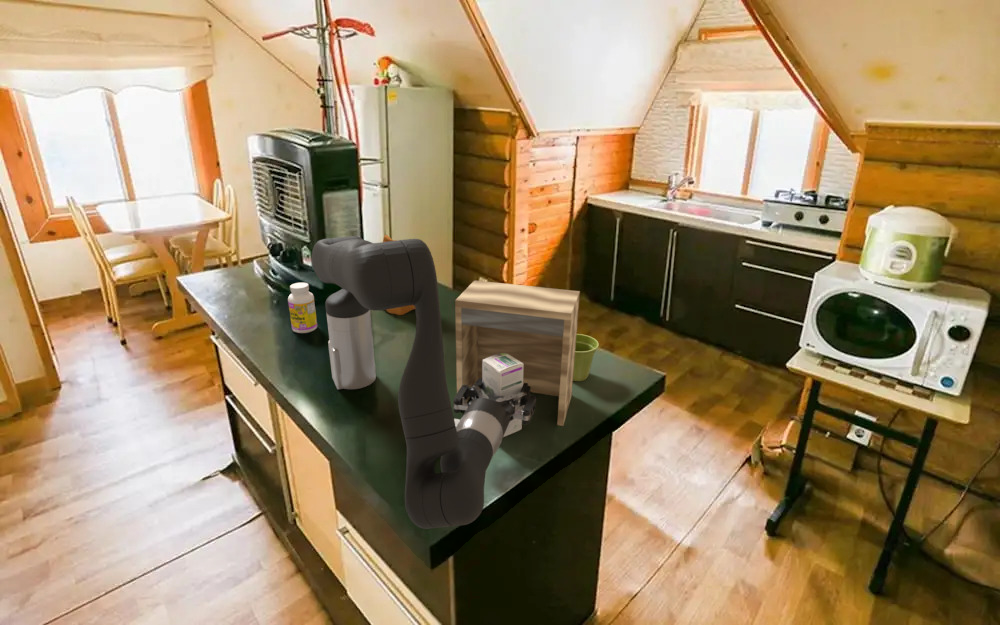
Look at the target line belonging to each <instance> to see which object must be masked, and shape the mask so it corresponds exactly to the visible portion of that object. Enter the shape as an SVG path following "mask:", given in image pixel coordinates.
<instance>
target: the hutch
mask: <svg viewBox="0 0 1000 625" xmlns="http://www.w3.org/2000/svg"><path fill="white" fill-rule="evenodd" d="M580 294H581V291H580V290H569V289H559V288H551V287H543V286H542V287H541V286H531V285H523V284H514V283H513V284H512V283H503V282H502V283H501V282H495V281H492V282H491V281H484V280H483V281H482V280H473V281H472V282H471V283H470V284H469V285H468V287H466V289H464V291H462V293H461V294H459V296H458V297H457V298H456V299H454V301H455V302H454V303H455V304H454V306H455V310H454V311H455V351H456V352H455V353H456V354H455V358H456V365H455V366H456V368H455V369H456V370H455V371H456V394H457V393H458V391H459V389H460V388H461V386H462V385H467V386H468V387H472V385H474V384H475V383H476V381H477V380H478V379H481V378H482V361H483V359H486V358H488V357H491V356H494V355H497V354H501V353H507V354H509V355H510V356H512V357H514V358H515V359H517V360H518V361H520V362H522V363H523V364H524V367H523V384H524V383H528V386H530V387H531V389H530V393H535V394H541V395H547V396H554V397H558V409H557V411H558V412H557V421H556V422H557V424H556V425H557V426H561V427H564V425H565V421H566V418H567V414H568V411H569V410H568V409H569V407H570V403H571V399H572V396H573V386H574V385H573V384H574V381H573V373H574V360H575V347H576V334H578V333H577V332H578V321H579V320H578V319H579V308H580V306H579V305H580V296H581V295H580ZM470 398H471V397H468V399H467V401H466V403H469V400H470Z"/></svg>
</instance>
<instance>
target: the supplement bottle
mask: <svg viewBox="0 0 1000 625" xmlns="http://www.w3.org/2000/svg"><path fill="white" fill-rule="evenodd" d="M289 290H290V292H291V293H290V294H289V296H288V298H287V303H288V304H287V305H288V310H289V317H290V323H291V324H290V325H291V330H292V331H293V332H294V333H297V334H309V333H311V332H313V331H315V330H316V329H317V328H318V320H317V313H316V312H317V311H316V306H315V296H314V294H313V293H312V292H310V291H309V290H310V285H309V283H308V282H295V283H292V284H291V285H289Z"/></svg>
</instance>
